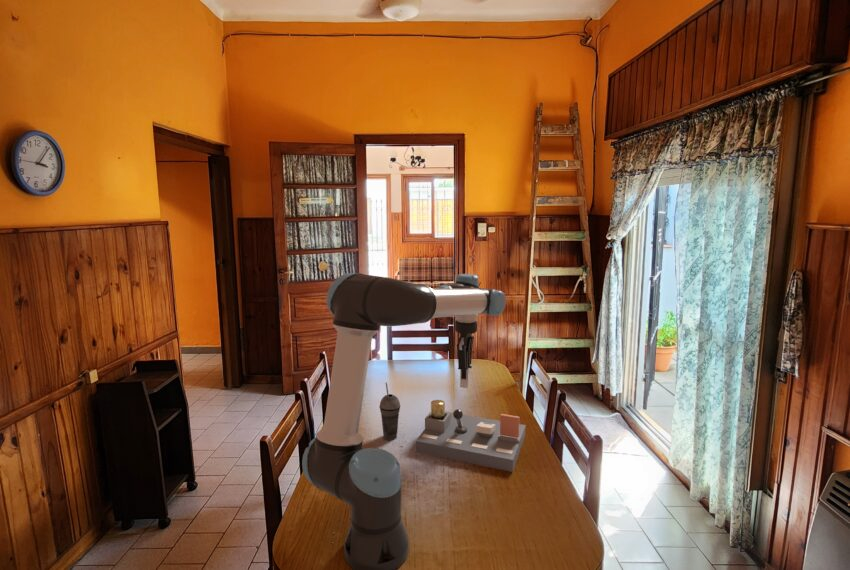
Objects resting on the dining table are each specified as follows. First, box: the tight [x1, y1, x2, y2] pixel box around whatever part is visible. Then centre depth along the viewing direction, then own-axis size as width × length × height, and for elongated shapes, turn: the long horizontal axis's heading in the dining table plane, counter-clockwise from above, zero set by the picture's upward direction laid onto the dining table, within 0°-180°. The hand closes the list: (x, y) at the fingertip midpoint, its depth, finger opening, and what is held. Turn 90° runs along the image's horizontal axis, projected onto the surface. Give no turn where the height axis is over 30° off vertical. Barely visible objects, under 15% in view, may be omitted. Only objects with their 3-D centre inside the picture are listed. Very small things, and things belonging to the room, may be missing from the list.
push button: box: [430, 399, 446, 420], centre depth 161 cm, size 5×5×6 cm
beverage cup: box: [378, 382, 401, 441], centre depth 161 cm, size 7×7×20 cm
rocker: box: [476, 422, 495, 434], centre depth 156 cm, size 7×5×2 cm
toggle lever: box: [452, 409, 464, 429], centre depth 156 cm, size 3×3×9 cm
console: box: [415, 411, 527, 473], centre depth 158 cm, size 24×32×8 cm
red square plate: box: [499, 413, 520, 438], centre depth 153 cm, size 1×6×7 cm, turn 69°
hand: (464, 386), depth 160 cm, fingers closed
